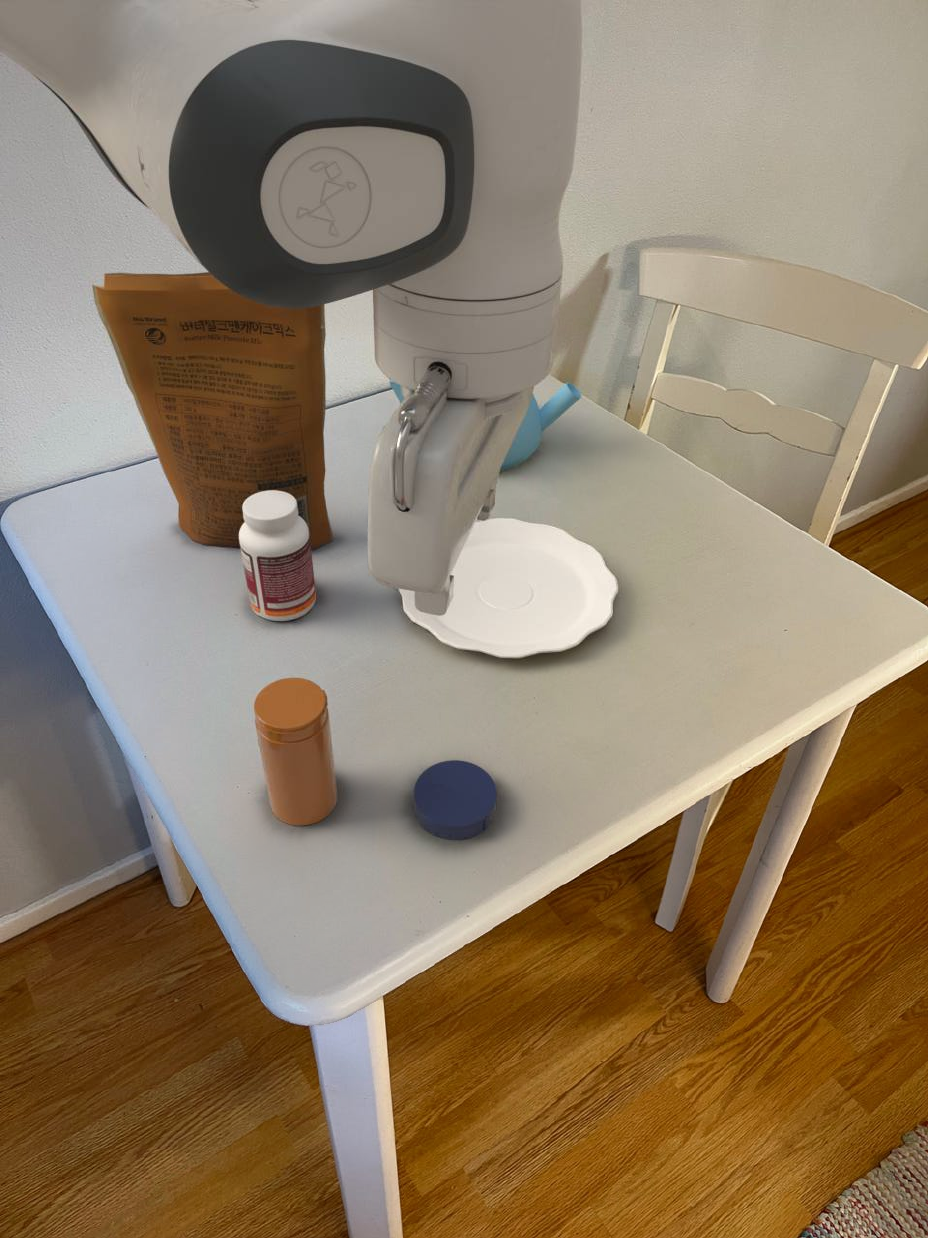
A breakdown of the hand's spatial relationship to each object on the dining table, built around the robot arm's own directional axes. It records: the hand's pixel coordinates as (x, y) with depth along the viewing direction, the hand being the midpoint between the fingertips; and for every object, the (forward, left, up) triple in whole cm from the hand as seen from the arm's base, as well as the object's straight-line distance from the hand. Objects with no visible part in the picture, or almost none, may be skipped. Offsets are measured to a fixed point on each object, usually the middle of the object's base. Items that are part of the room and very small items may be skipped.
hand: (457, 556), depth 52 cm
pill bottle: (-5, +28, -23) cm, 37 cm away
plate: (+15, +21, -23) cm, 35 cm away
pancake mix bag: (-5, +39, -23) cm, 46 cm away
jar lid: (0, 0, -22) cm, 22 cm away
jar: (-10, +5, -23) cm, 26 cm away
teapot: (+25, +47, -23) cm, 58 cm away
